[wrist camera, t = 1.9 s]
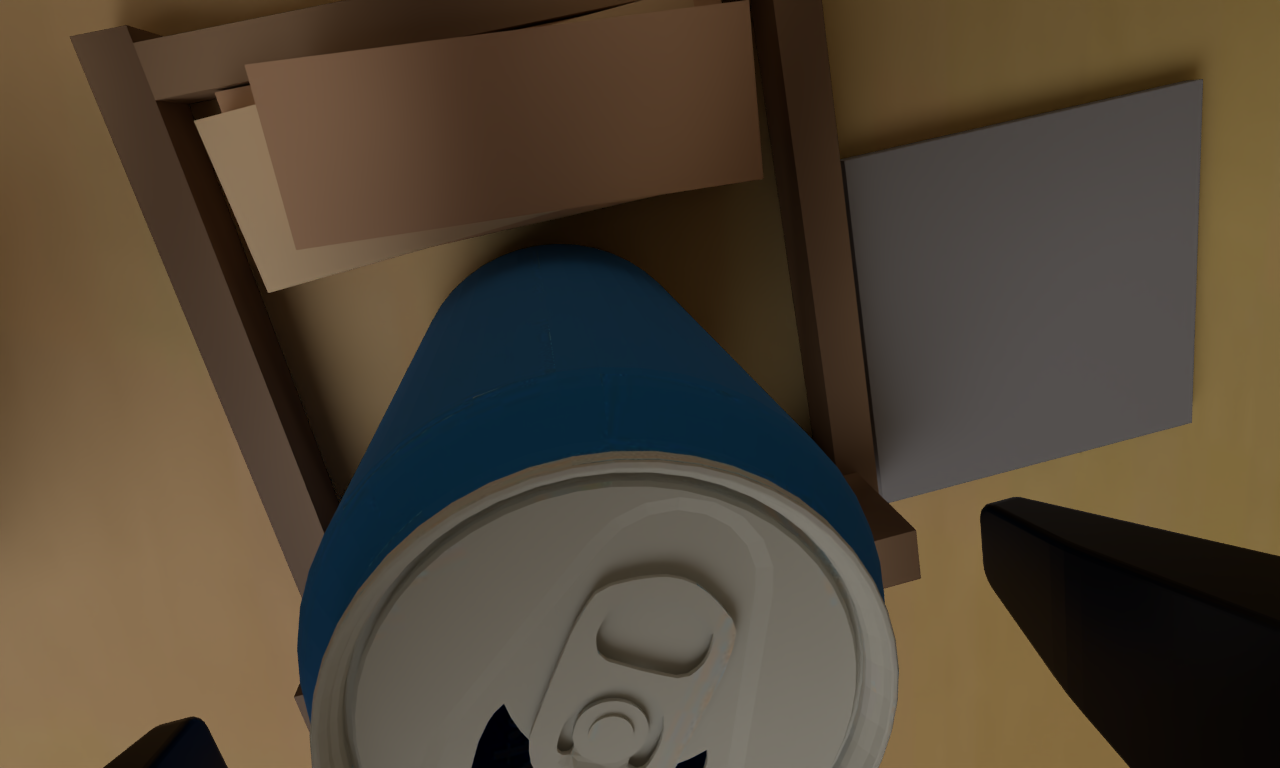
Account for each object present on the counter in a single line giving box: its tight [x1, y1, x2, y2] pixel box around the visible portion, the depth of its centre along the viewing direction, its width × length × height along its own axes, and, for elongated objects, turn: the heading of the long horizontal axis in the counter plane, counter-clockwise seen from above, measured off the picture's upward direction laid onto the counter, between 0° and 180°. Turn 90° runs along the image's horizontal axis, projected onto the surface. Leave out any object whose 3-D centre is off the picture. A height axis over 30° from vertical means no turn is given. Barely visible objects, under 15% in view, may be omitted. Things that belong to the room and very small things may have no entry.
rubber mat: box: [840, 79, 1203, 503], centre depth 20 cm, size 9×9×1 cm
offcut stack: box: [194, 0, 764, 293], centre depth 15 cm, size 10×4×4 cm, turn 102°
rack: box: [70, 0, 921, 732], centre depth 16 cm, size 14×14×4 cm
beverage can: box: [297, 244, 899, 768], centre depth 13 cm, size 6×6×12 cm
